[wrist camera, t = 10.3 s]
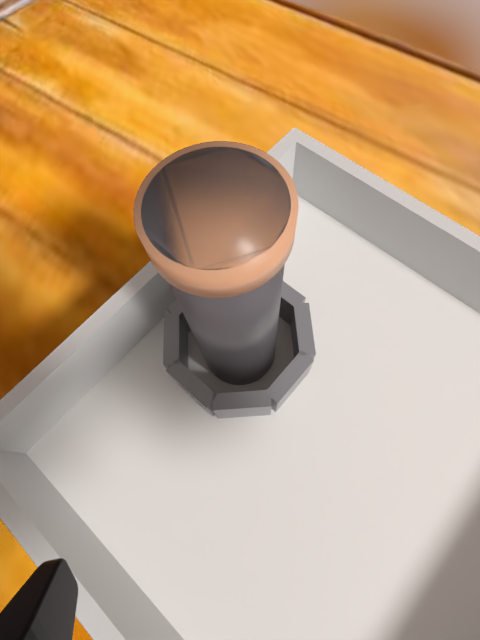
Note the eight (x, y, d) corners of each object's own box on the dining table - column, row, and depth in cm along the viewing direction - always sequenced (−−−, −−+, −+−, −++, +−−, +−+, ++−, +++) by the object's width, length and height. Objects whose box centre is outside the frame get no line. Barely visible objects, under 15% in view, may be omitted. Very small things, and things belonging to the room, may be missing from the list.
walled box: (382, 898, 15) (437, 1086, 10) (14, 455, 22) (-53, 449, 17) (642, 414, 21) (751, 396, 16) (289, 185, 28) (294, 127, 23)
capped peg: (256, 402, 21) (251, 305, 9) (187, 367, 22) (101, 236, 10) (291, 334, 23) (325, 172, 11) (224, 303, 24) (186, 122, 12)
